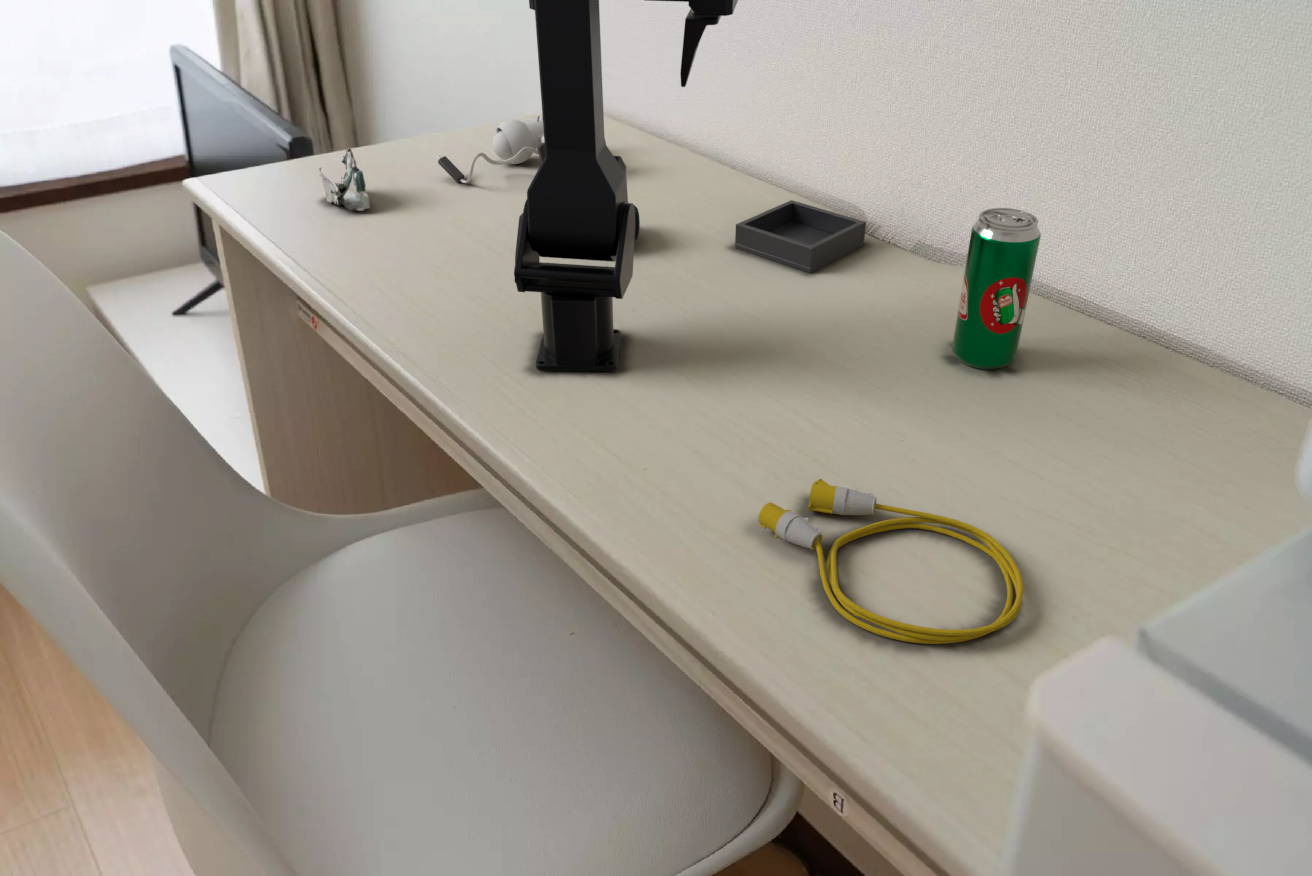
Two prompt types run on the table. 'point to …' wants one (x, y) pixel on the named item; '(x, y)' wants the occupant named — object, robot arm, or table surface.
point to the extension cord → (864, 504)
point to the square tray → (800, 235)
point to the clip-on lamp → (507, 146)
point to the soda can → (996, 287)
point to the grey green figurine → (348, 186)
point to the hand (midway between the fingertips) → (636, 83)
